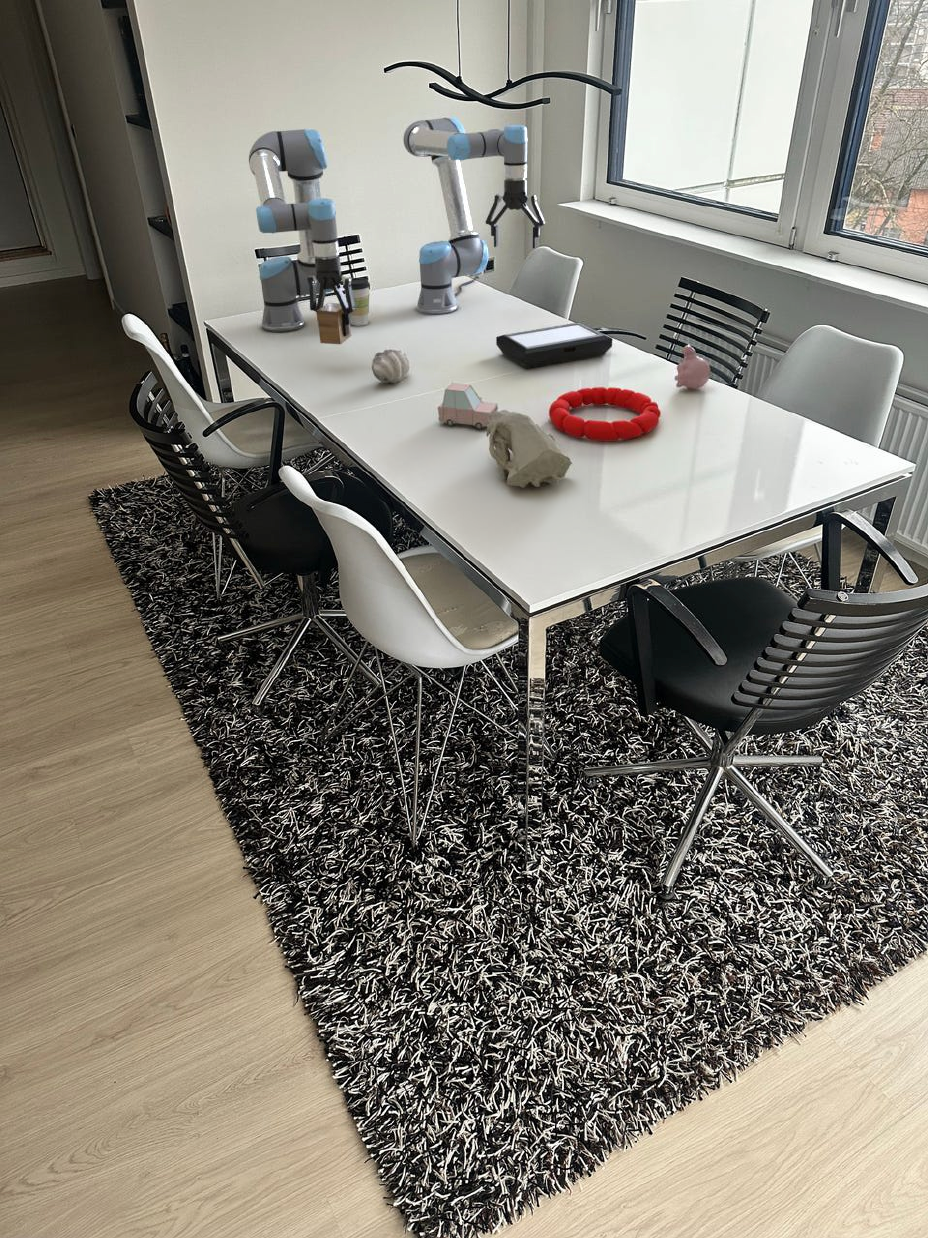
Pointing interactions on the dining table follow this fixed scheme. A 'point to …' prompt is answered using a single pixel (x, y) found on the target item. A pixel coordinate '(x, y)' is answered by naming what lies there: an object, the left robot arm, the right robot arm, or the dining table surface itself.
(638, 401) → the decorative ring
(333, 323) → the block
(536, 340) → the electronic device
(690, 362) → the figurine
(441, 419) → the toy car
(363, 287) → the coffee cup
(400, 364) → the seashell
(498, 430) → the grey rough stone chunk
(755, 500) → the dining table surface
